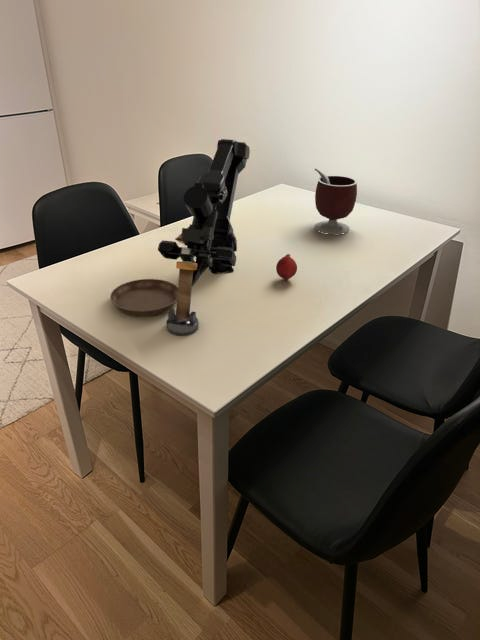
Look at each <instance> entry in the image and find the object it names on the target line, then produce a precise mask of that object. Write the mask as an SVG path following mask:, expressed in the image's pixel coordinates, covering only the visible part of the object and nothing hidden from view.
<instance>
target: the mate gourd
mask: <svg viewBox="0 0 480 640" xmlns="http://www.w3.org/2000/svg"><path fill="white" fill-rule="evenodd" d="M314 171H315V172H317V173H318V175H319V176H320V177H319V178H318V180H317V181H318V182H317V184H316V187H315V195H314V199H315V200H314V202H315V209H316V210H317V211H318V213H319V215H321V217H323V218H326V219H328V220H325V221H324V220H323V221H319V222H316V223H315V225H314V230H315V229H316V230H318V231H320V232H323V233H328V234H342V233H346V232H348V231H349V232H350V230H351V229H350V228H351V227H350V226H349V225H347V224H346V223H343V222H340V221H338V220H342V219H344V218H345V219H346V218H348V216H349V215H350V214H351V213H352V212H353V210H354V207H355V205H356V201H357V194H358V185H357V183H358V182H357V180H356V179H355V178H352V177H349V176H345V175H334V174H333V175H326V173H325V172H324V171H322V170H320V169H319V168H317V167H316V168H314ZM349 229H350V230H349ZM316 230H315V231H316ZM318 231H317V232H318ZM320 232H319V233H320ZM349 232H348V233H349ZM323 233H322V234H323ZM346 234H347V233H346Z"/></svg>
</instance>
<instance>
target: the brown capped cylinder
mask: <svg viewBox="0 0 480 640" xmlns="http://www.w3.org/2000/svg"><path fill="white" fill-rule="evenodd" d="M175 268H176V269H178V270H179V271H178V282H177V283H178V285H177V287H178V294H177V302H176V309H175V315H176V317H177V318H183V319H187V318H189V314H190V313H191V301H192V292H193V291H192V289H193V287H192V279H193V270H197V263H192V262H189V261H183V260H181V261H176V267H175Z"/></svg>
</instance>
